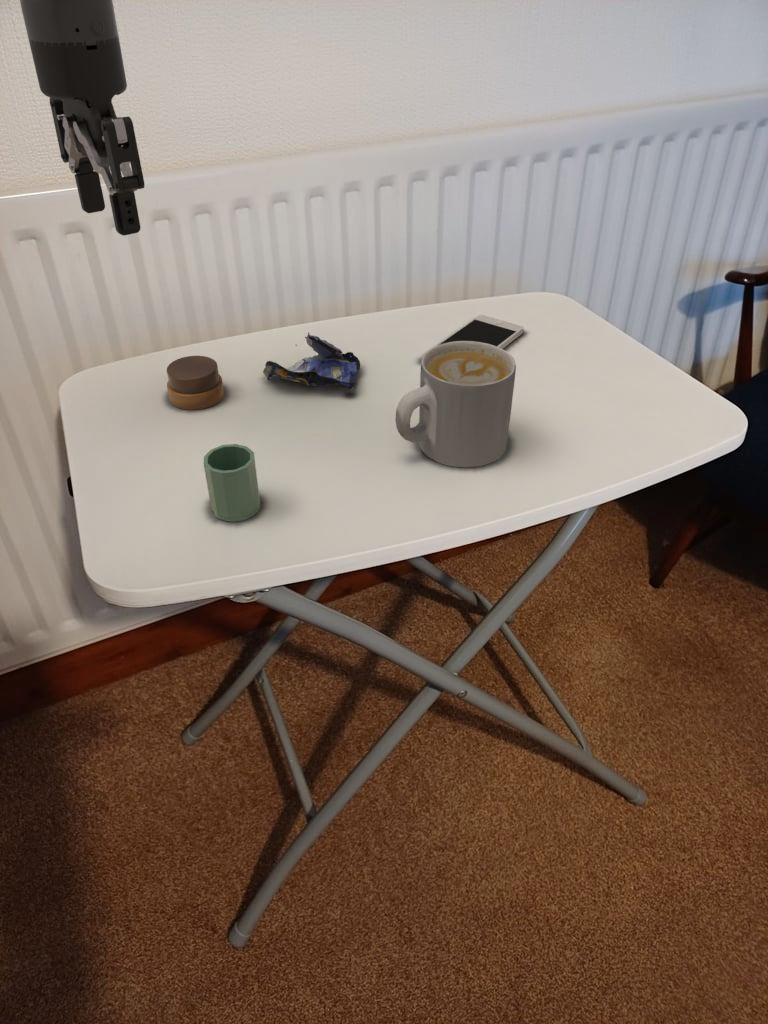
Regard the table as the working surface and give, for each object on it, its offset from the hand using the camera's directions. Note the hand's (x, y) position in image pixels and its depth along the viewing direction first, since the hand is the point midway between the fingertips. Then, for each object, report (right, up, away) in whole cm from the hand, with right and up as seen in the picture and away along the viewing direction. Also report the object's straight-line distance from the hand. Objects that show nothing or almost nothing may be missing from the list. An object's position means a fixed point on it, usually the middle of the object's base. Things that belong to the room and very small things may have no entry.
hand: (111, 221), depth 78 cm
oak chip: (+4, -15, +18) cm, 24 cm away
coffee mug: (+34, -22, +10) cm, 42 cm away
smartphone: (+40, -7, +28) cm, 49 cm away
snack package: (+19, -12, +21) cm, 31 cm away
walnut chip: (+4, -13, +17) cm, 22 cm away
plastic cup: (+12, -28, +1) cm, 31 cm away
